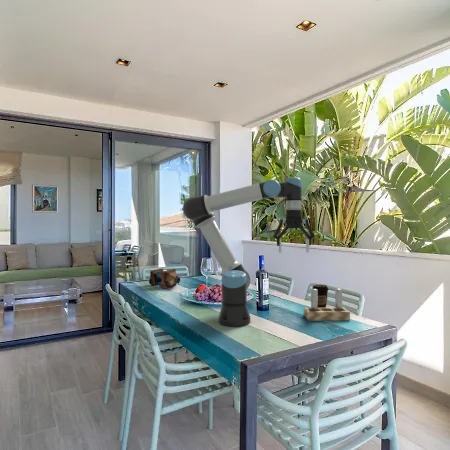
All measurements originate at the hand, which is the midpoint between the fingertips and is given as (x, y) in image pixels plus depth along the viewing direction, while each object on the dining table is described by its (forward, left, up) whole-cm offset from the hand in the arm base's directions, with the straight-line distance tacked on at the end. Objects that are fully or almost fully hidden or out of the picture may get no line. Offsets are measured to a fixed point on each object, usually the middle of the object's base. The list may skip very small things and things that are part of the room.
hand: (293, 252), depth 171 cm
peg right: (+21, -4, -32) cm, 38 cm away
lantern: (-75, +73, -32) cm, 109 cm away
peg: (+9, -4, -32) cm, 33 cm away
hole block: (+15, -4, -32) cm, 35 cm away
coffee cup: (+16, +10, -32) cm, 37 cm away
